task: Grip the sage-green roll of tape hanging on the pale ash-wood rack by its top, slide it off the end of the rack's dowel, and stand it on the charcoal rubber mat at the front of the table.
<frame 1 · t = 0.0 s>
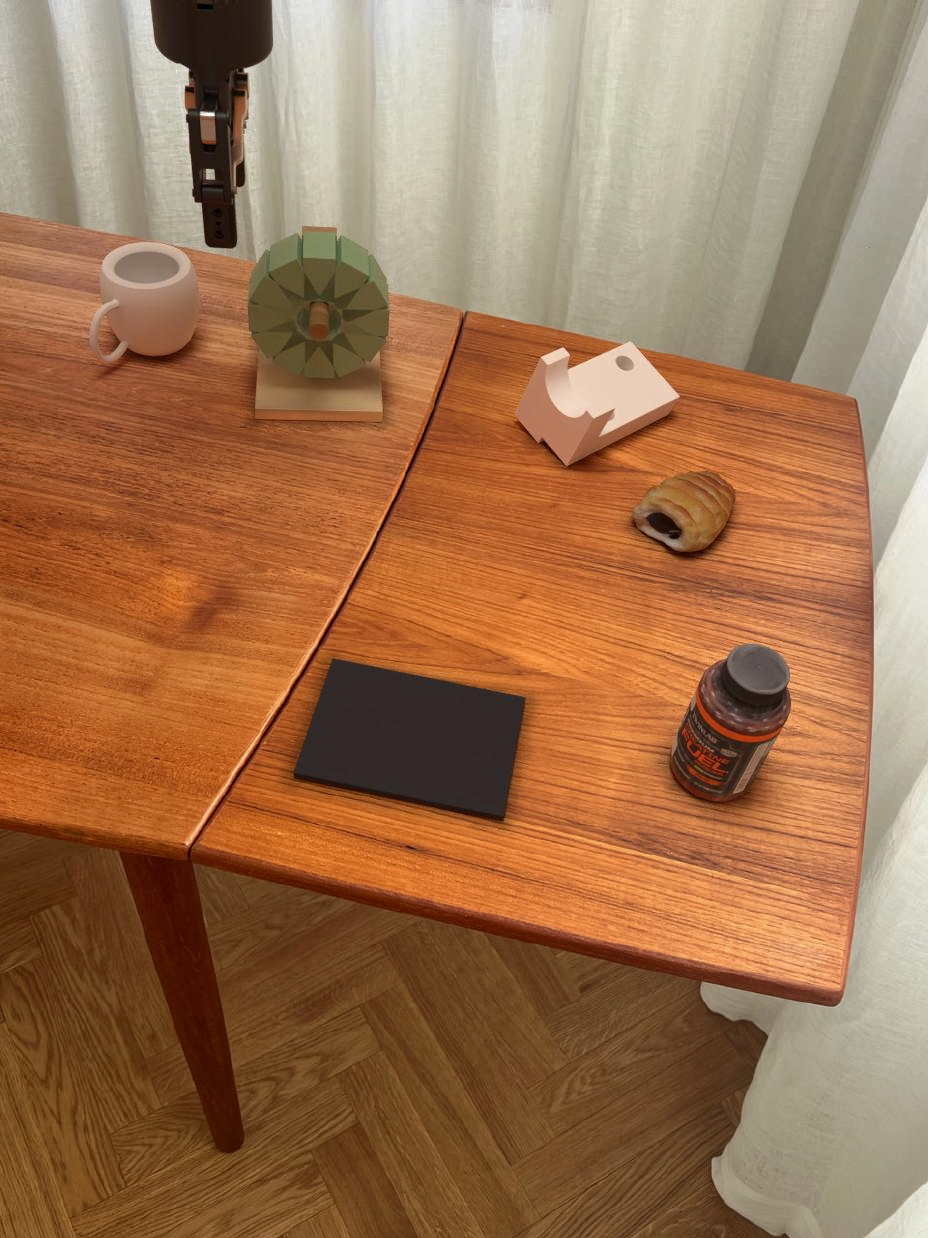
hand: (226, 214, 81), 20 cm above the table, tool pointing down, fingers open, 8 cm apart
mug: (143, 349, 102), on the table
mat: (413, 738, 76), on the table
supplement bottle: (709, 770, 77), on the table
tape: (319, 307, 94), point 8 cm above the table, touching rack
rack: (319, 378, 101), on the table
bracket: (597, 425, 101), on the table
pastry: (680, 522, 93), on the table
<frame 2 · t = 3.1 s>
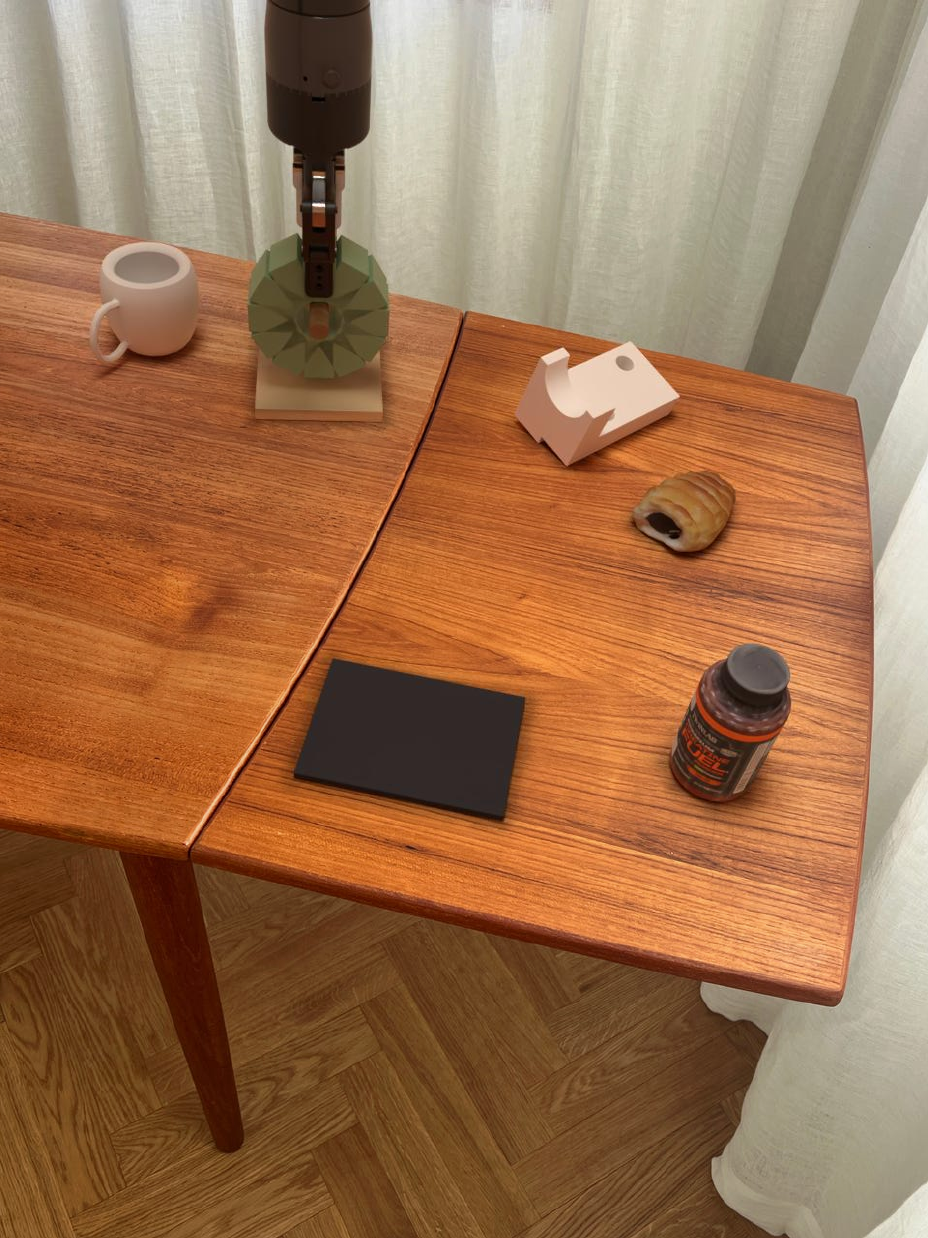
hand: (319, 278, 92), 11 cm above the table, tool pointing down, fingers closed on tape, 4 cm apart
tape: (319, 307, 94), point 9 cm above the table, touching gripper, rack
everything else where it was.
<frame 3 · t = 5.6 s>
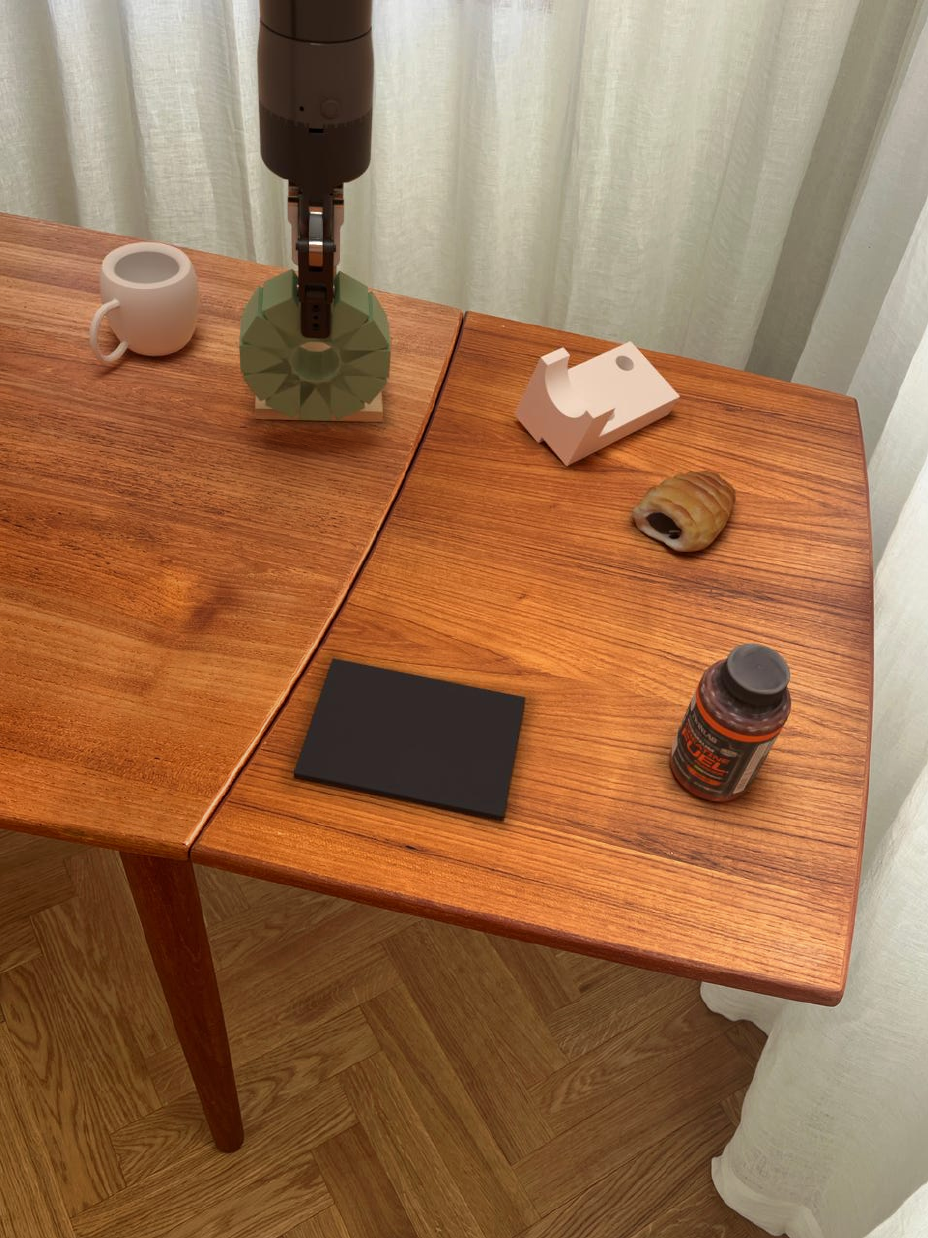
hand: (315, 316, 86), 12 cm above the table, tool pointing down, fingers closed on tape, 4 cm apart
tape: (315, 346, 88), point 10 cm above the table, touching gripper
everything else where it was.
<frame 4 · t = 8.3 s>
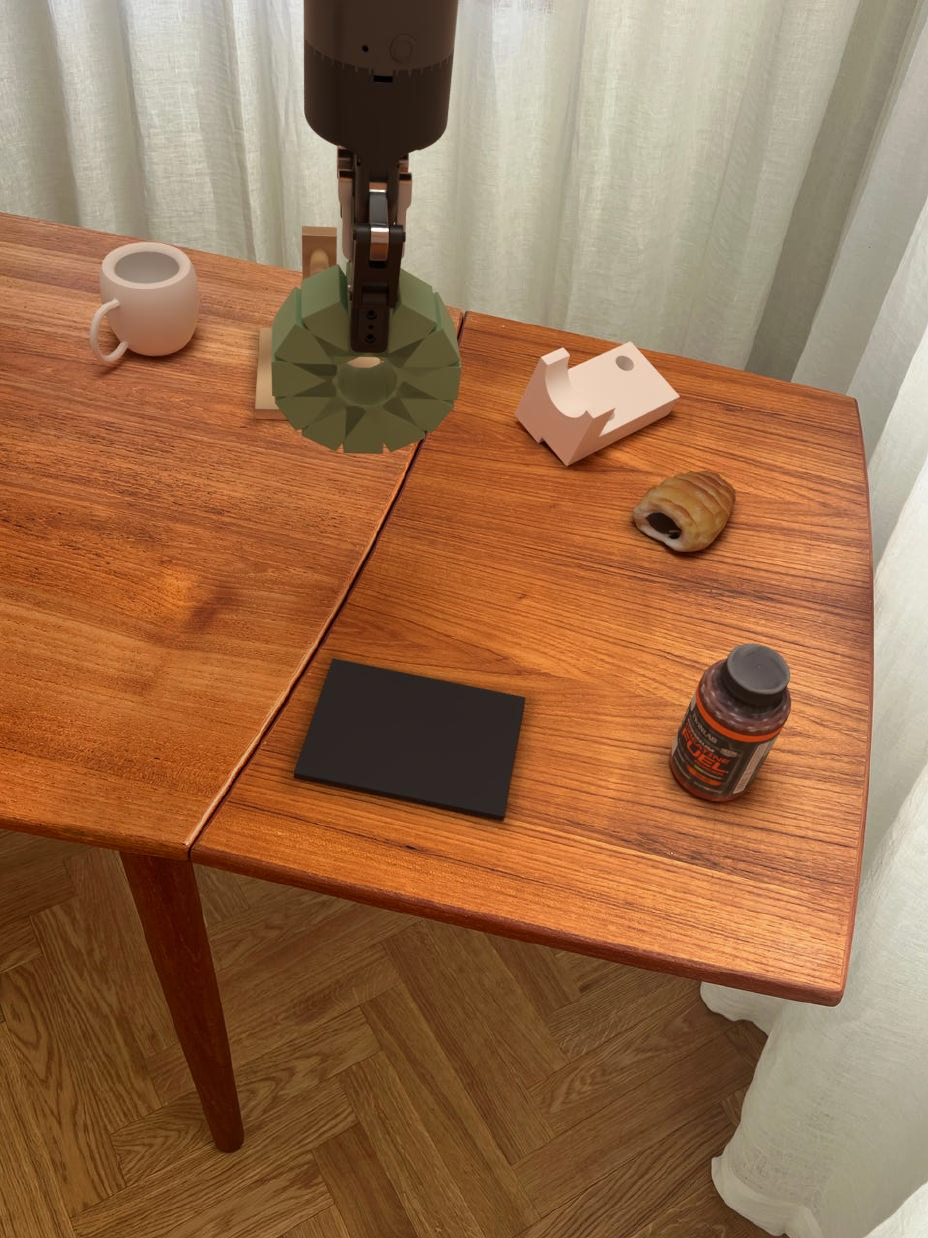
hand: (366, 325, 68), 23 cm above the table, tool pointing down, fingers closed on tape, 4 cm apart
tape: (365, 362, 70), point 20 cm above the table, touching gripper
everything else where it was.
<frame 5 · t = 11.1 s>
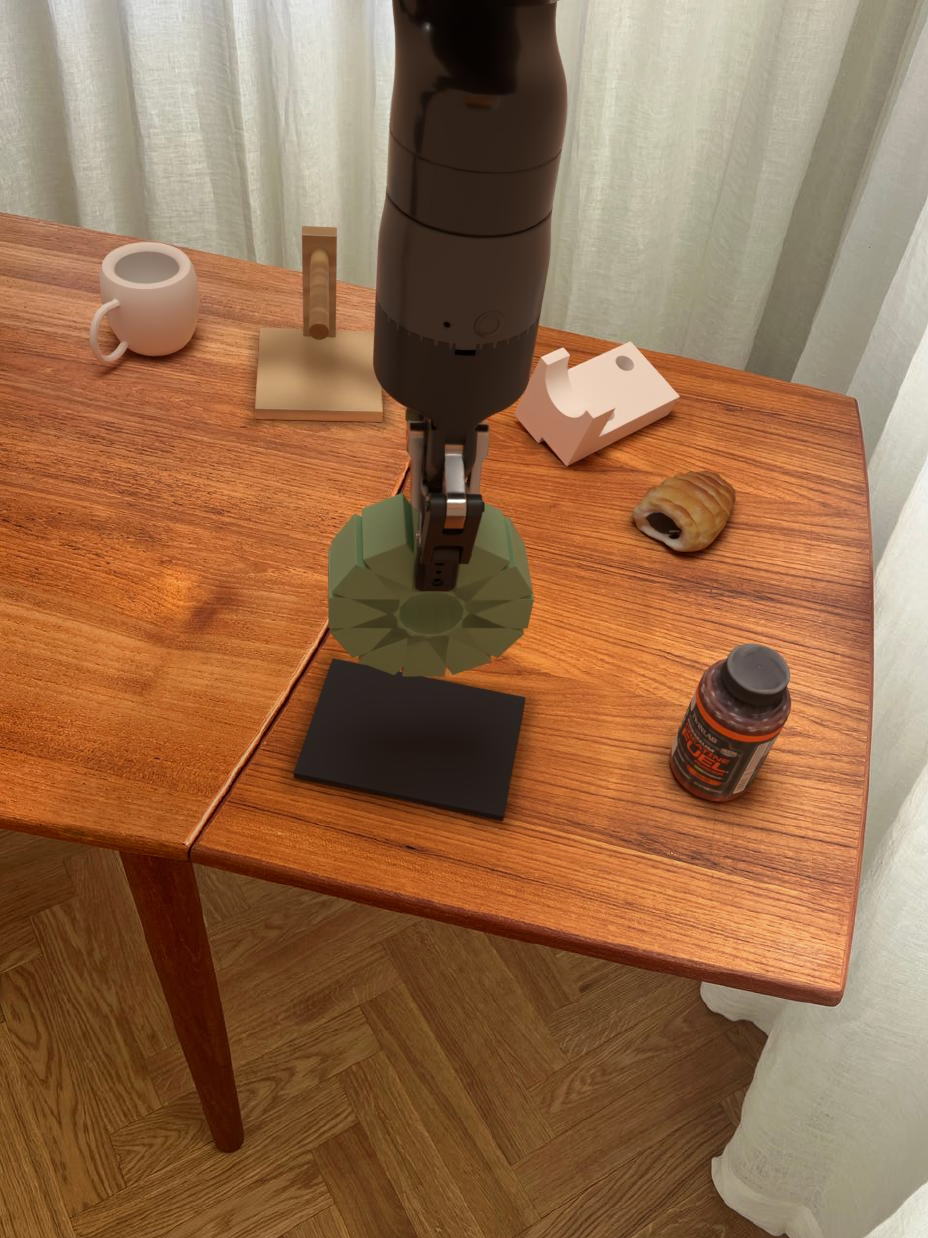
hand: (431, 555, 63), 18 cm above the table, tool pointing down, fingers closed on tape, 4 cm apart
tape: (428, 588, 65), point 15 cm above the table, touching gripper
everything else where it was.
when the fingers open (9 cm above the table, at t = 13.7 s): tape stays where it is, resting on mat.
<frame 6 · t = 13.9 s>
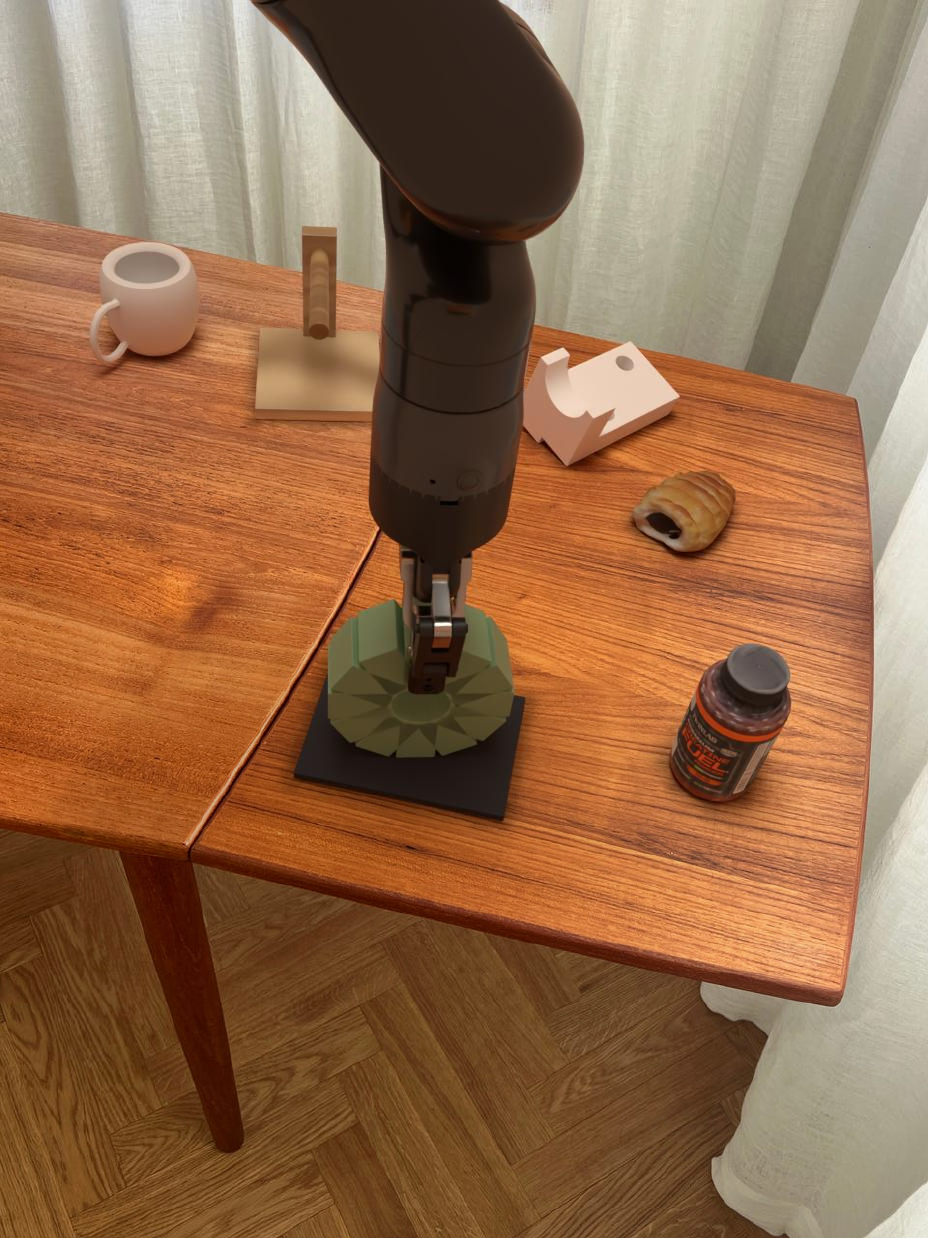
hand: (422, 653, 69), 9 cm above the table, tool pointing down, fingers open, 5 cm apart
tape: (419, 680, 71), point 6 cm above the table, touching mat
everything else where it was.
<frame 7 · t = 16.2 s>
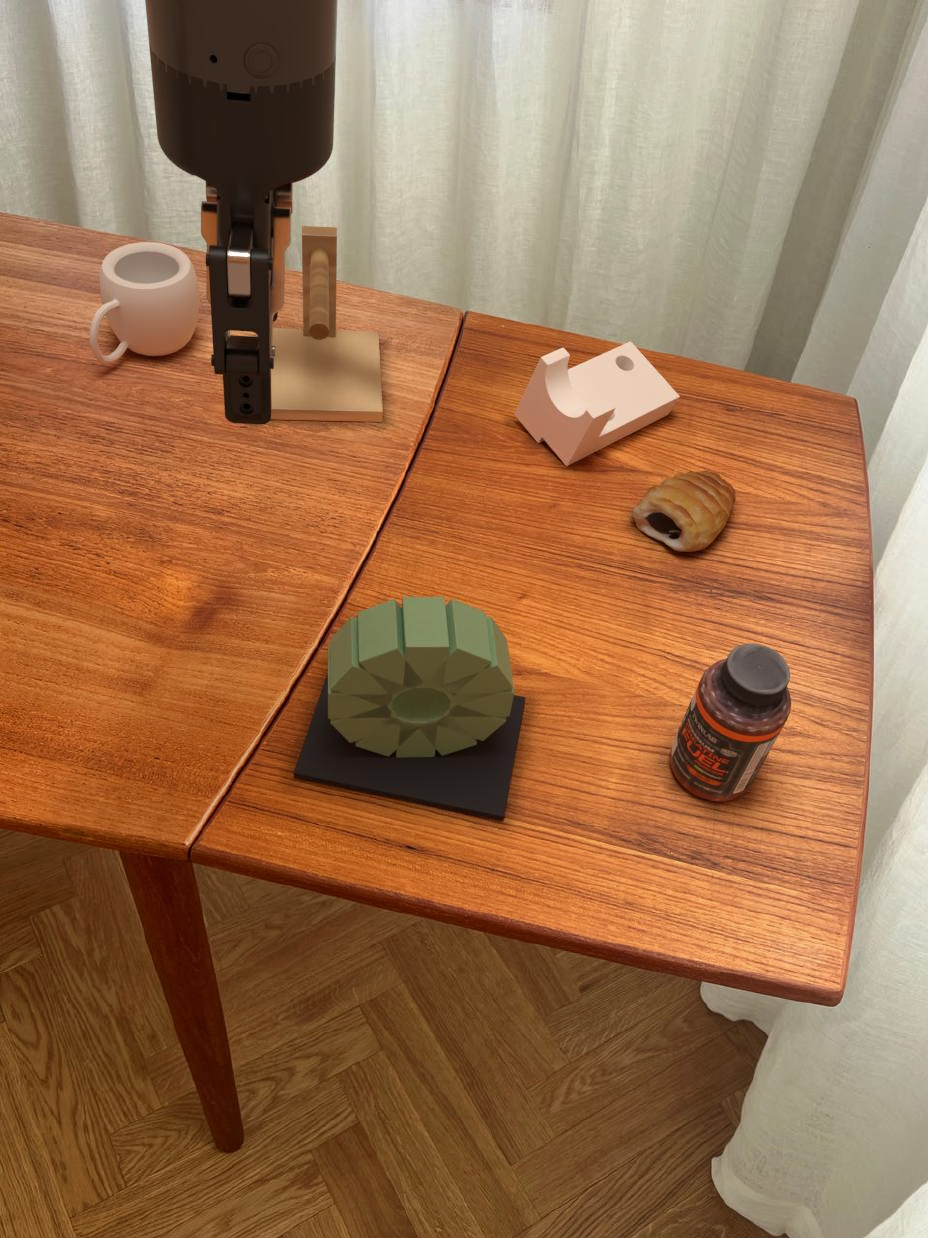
hand: (253, 366, 57), 27 cm above the table, tool pointing down, fingers open, 8 cm apart
nothing on the table moved.
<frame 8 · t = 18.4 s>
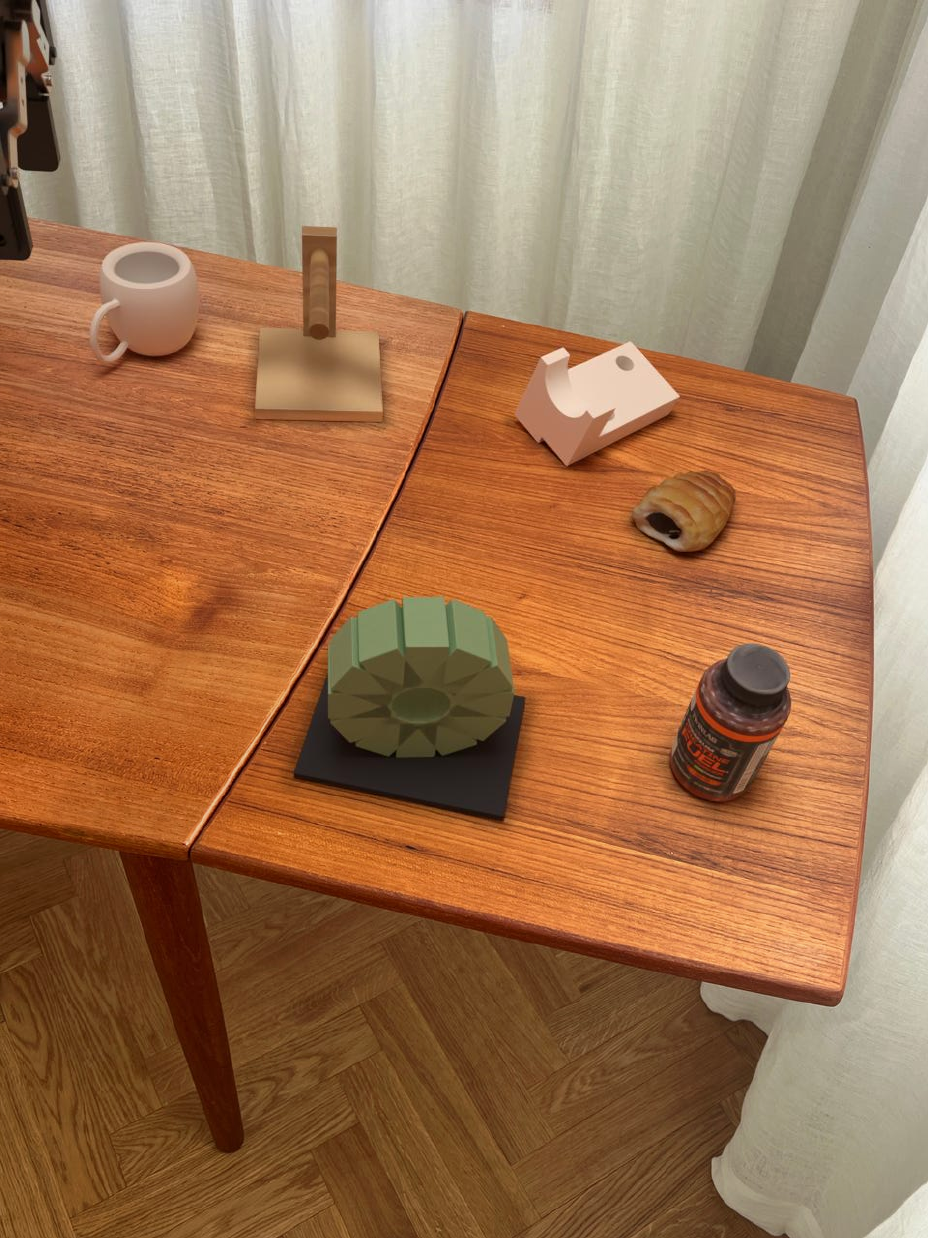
hand: (25, 210, 56), 32 cm above the table, tool pointing down, fingers open, 8 cm apart
nothing on the table moved.
at the end: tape inside the target area on the mat (0.0 cm from its centre), point 6.4 cm above the mat's base; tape touching mat; the gripper is holding nothing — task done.
